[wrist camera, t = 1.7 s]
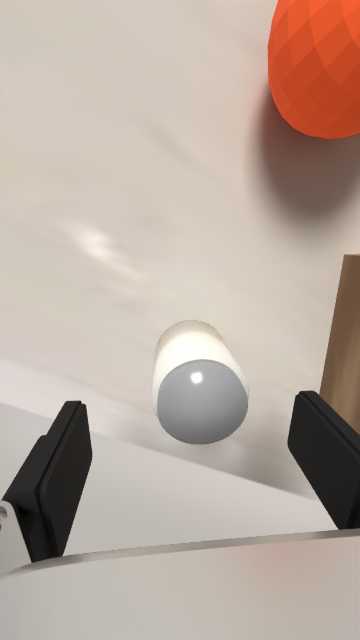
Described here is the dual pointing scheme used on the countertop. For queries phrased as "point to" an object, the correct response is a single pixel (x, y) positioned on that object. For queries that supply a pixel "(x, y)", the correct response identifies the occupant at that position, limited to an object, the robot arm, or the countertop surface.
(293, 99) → the clementine
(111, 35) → the countertop surface
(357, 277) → the tray
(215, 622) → the robot arm
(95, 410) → the countertop surface
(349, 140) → the countertop surface
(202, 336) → the white rounded cylinder
